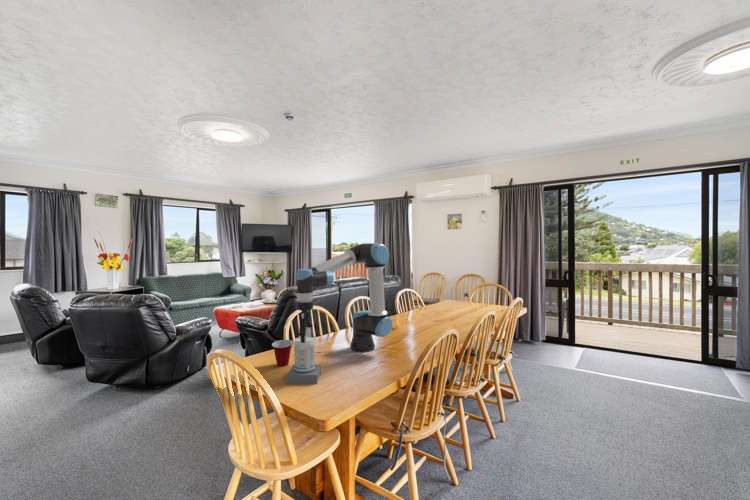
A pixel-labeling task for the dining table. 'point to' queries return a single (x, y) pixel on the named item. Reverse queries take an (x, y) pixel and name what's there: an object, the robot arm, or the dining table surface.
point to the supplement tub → (304, 355)
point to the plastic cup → (282, 351)
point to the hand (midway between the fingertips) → (306, 344)
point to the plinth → (303, 376)
